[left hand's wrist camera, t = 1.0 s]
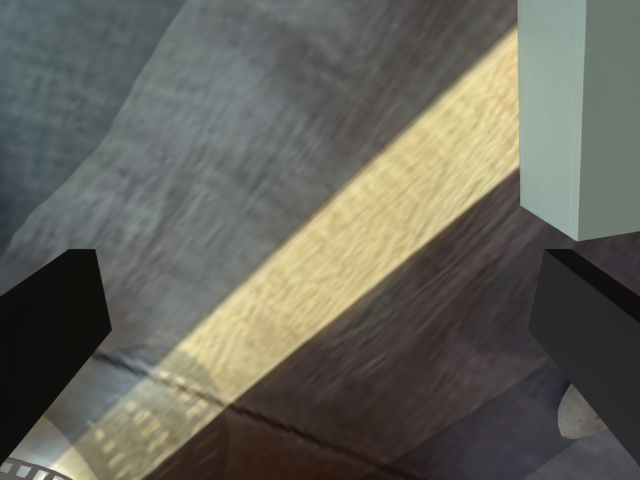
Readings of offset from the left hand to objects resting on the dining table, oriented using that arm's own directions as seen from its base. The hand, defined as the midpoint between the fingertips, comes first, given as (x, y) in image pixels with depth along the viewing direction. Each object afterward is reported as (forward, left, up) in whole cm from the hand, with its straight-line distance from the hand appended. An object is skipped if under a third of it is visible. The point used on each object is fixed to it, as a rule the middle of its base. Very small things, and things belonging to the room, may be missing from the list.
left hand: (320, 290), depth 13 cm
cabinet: (+6, -21, -25) cm, 33 cm away
